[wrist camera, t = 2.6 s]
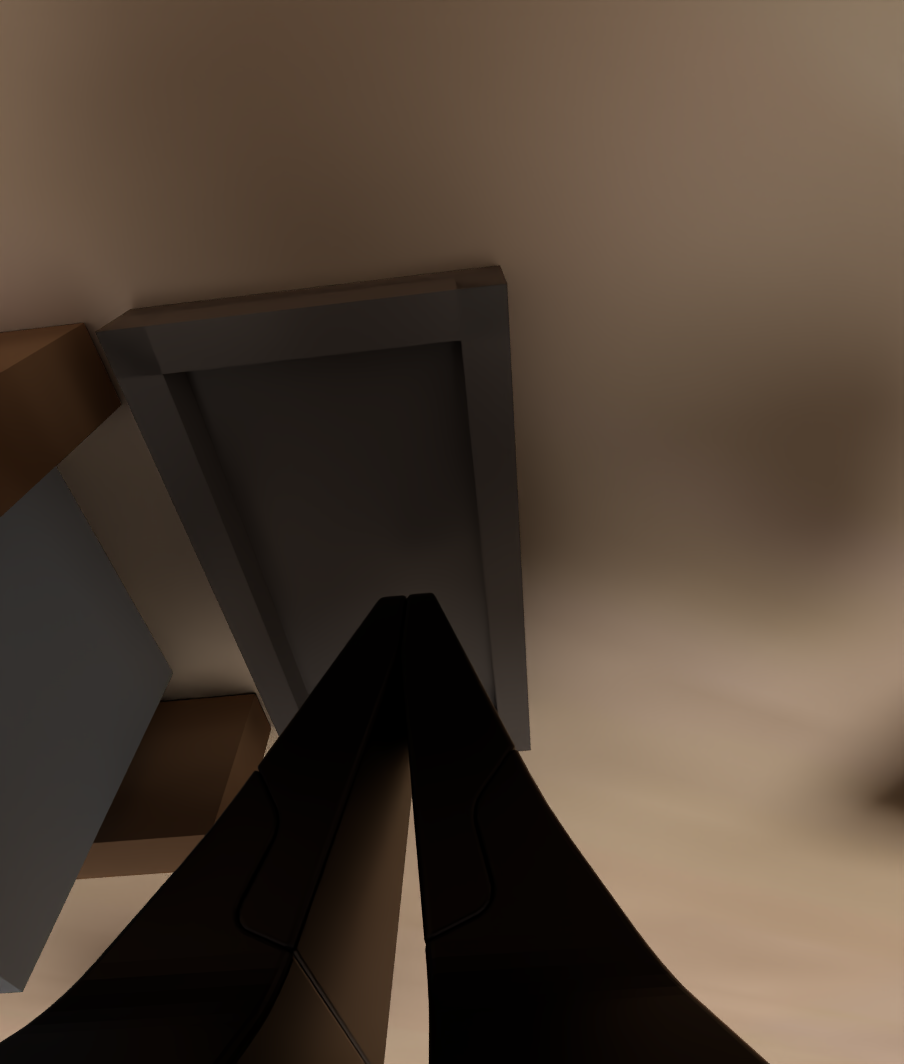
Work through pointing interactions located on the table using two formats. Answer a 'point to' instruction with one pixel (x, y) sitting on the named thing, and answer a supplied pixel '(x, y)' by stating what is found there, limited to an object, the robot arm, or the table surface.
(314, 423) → the tray
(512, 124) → the table surface
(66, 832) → the block
